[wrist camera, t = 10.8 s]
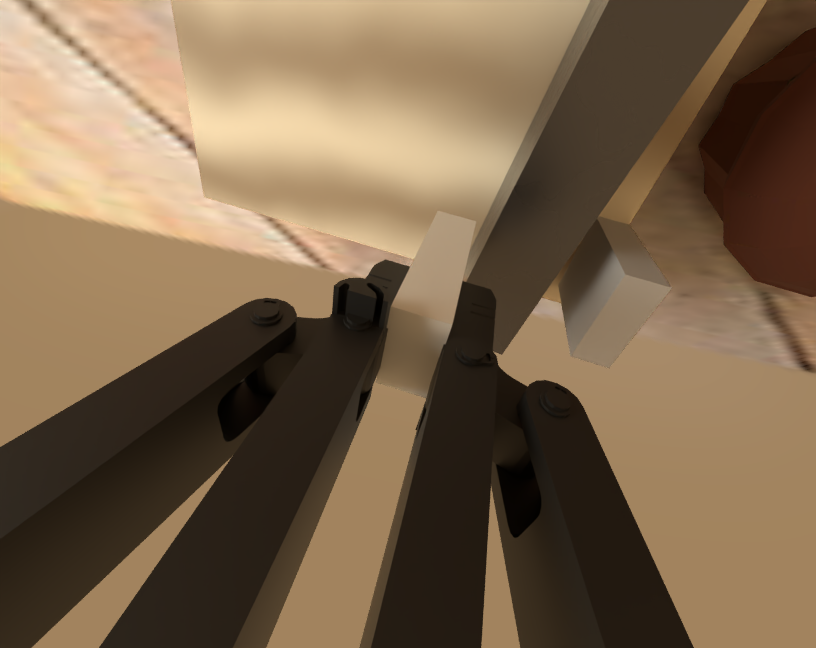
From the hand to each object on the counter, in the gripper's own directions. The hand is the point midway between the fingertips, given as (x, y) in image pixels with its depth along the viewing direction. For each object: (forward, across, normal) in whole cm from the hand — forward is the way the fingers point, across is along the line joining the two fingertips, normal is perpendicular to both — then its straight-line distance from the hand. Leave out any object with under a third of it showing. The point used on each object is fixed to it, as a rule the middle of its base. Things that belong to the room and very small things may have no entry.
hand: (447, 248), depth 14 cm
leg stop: (+5, -7, +1) cm, 9 cm away
